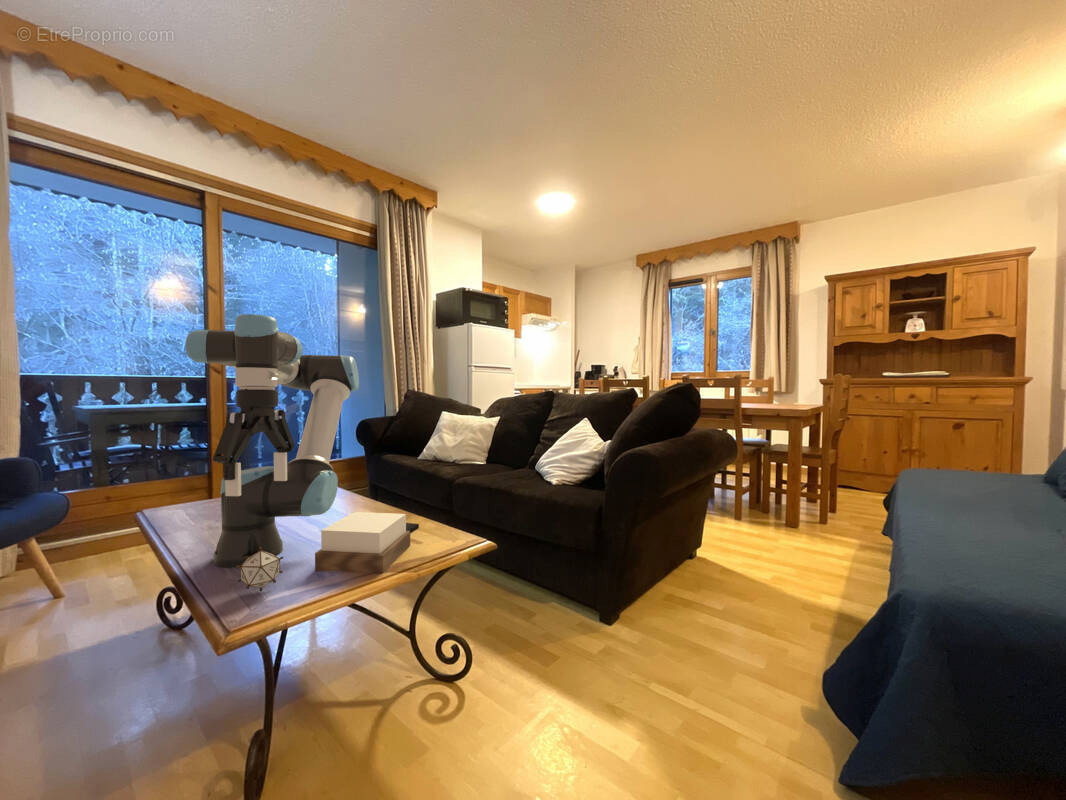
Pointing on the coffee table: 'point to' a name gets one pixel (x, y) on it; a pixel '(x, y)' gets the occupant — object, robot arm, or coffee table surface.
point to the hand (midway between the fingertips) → (258, 487)
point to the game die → (260, 569)
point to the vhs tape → (411, 527)
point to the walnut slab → (362, 558)
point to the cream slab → (363, 532)
